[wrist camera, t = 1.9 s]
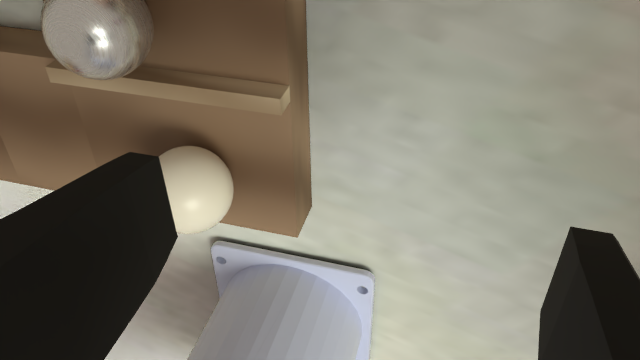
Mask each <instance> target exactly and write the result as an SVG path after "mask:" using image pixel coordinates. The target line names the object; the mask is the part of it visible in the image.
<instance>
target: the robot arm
mask: <svg viewBox="0 0 640 360" xmlns="http://www.w3.org/2000/svg"><path fill="white" fill-rule="evenodd" d="M177 237H178V236H177V232H176V228H175V223H174V219H173V215H172V210H171V206H170V202H169V198H168V193H167V189H166V185H165V181H164V176H163V172H162V168H161V164H160V159H159V157H158V156H152V155H146V154H141V153H135V152H128V153H126V154H124V155H122V156H120V157H117V158H115V159H113V160H111V161H109V162H107V163H105V164H104V165H102V166H100V167H98V168H96V169H94V170H92V171H90V172H88V173H87V174H85V175H83V176H81V177H79V178H77V179H76V180H74V181H72V182H70V183H68V184H66V185H65V186H63V187H61V188H59V189H57V190H55V191H53V192H52V193H50V194H48V195H46V196H44V197H42V198H40V199H39V200H37V201H35V202H33V203H31V204H29V205H27V206H26V207H24V208H22V209H20V210H18V211H16V212H14V213H12V214H10V215H8V216H6V217H4V218H2V219H0V360H104V359H105V358H106V356H107V355H108V353H109V352H110V350H111V349H112V347H113V346H114V344H115V343H116V341H117V340H118V338H119V337H120V335H121V334H122V332H123V331H124V329H125V328H126V326H127V325H128V323H129V322H130V321H131V319H132V318H133V316H134V315H135V313H136V312H137V310H138V308H139V307H140V305H141V304H142V302H143V301H144V299H145V298H146V296H147V295H148V293H149V292H150V290H151V289H152V287H153V286H154V284H155V282H156V281H157V279H158V277H159V275H160V273H161V271H162V269H163V267H164V265H165V263H166V261H167V259H168V257H169V254H170V252H171V250H172V248H173V246H174V244H175V241H176V239H177ZM211 255H212V260H213V265H214V271H215V276H216V281H217V287H218V292H219V297H220V300H219V302H218V303H217V305H216V307H215V309H214V311H213V313H212V315H211V316H210V318H209V320H208V322H207V324H206V326H205V327H204V329H203V331H202V333H201V335H200V337H199V338H198V340H197V342H196V344H195V346H194V348H193V349H192V351H191V353H190V355H189V357H188V359H187V360H370V348H371V334H372V319H373V305H374V290H375V276H374V275H373V274H372V273H371V272H369V271H367V270H364V269H359V268H354V267H349V266H344V265H339V264H334V263H329V262H324V261H319V260H314V259H309V258H304V257H300V256H295V255H290V254H285V253H280V252H275V251H270V250H265V249H260V248H255V247H250V246H245V245H240V244H235V243H230V242H225V241H216V242H214V244H213V245H212V247H211ZM222 257H223V258H222ZM361 286H363V287H365V288H363V287H361ZM538 360H640V278H639V277H638V275H637V273H636V272H635V270H634V268H633V267H632V265H631V263H630V261H629V260H628V258H627V256H626V254H625V253H624V251H623V249H622V247H621V246H620V244H619V242H618V241H617V239H616V238H615V236H614V235H613V234H611V233H605V232H599V231H593V230H587V229H581V228H575V227H570V230H569V232H568V235H567V238H566V241H565V244H564V246H563V249H562V252H561V255H560V258H559V261H558V263H557V266H556V269H555V272H554V275H553V277H552V280H551V283H550V286H549V289H548V292H547V294H546V297H545V300H544V303H543V306H542V308H541V313H540V330H539V351H538Z"/></svg>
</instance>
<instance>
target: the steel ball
mask: <svg viewBox="0 0 640 360" xmlns="http://www.w3.org/2000/svg"><path fill="white" fill-rule="evenodd" d="M41 28H42V34H43V37H44V40H45V43H46V45H47V47H48V49H49V50H50V52H51V53H52V55H53V56H54V57H55V58H56V59H57V61H58V62H59V63H61V64H62V65H63V66H64V67H65V68H67V69H68V70H70V71H71V72H73V73H75V74H77V75H80V76H82V77H85V78H89V79H94V80H111V79H116V78H120V77H122V76H125V75H127V74H129V73H130V72H132V71H133V70H135V69H136V68H137V67H138V66H139V65H140V64H141V63H142V62H143V61H144V60H145V58H146V56H147V55H148V53H149V51H150V48H151V45H152V41H153V33H154V30H153V21H152V17H151V13H150V11H149V8H148V6H147V4H146V2H145V1H144V0H45V2H44V5H43V8H42V13H41Z"/></svg>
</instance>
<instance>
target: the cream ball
mask: <svg viewBox="0 0 640 360" xmlns="http://www.w3.org/2000/svg"><path fill="white" fill-rule="evenodd" d="M159 159H160V164H161V168H162V172H163V176H164V181H165V185H166V189H167V193H168V198H169V202H170V206H171V210H172V215H173V219H174V223H175V228H176V232H177V233H182V234H195V233H200V232H203V231H206V230H208V229H210V228H212V227H213V226H215V225H216V224H217V223H219V222H220V221H221V220H222V219H223V217H224V216H225V215H226V214H227V212H228V210H229V208H230V206H231V203H232V199H233V192H234V187H233V180H232V177H231V174H230V171H229V169H228V168H227V166H226V165H225V163H224V162H223V161H222V160H221V159H220V158H219V157H218V156H217V155H215V154H214V153H213V152H211V151H209V150H207V149H204V148H201V147H196V146H181V147H176V148H173V149H171V150H168V151H166V152H165V153H163V154H162V155H160V156H159Z"/></svg>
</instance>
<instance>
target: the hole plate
mask: <svg viewBox="0 0 640 360" xmlns="http://www.w3.org/2000/svg"><path fill="white" fill-rule="evenodd" d="M43 1H44V2H45V0H43ZM144 1H145V2H146V4H147V6H148V8H149V11H150V13H151V17H152V21H153V30H154V33H153V41H152V45H151V48H150V51H149V53H148V55H147V56H146V58H145V60H144V61H143V62H142V63H141V64H140V65H139V66H138V67H137V68H136V69H135V70H133V71H132V72H130V73H129V74H127V75H125V76H122V77H120V78H116V79H111V80H94V79H89V78H85V77H82V76H80V75H77V74H75V73H73V72H71V71H70V70H68V69H67V68H65V67H64V66H63V65H62V64H61V63H59V62H58V61H57V59H56V58H55V57H54V56H53V55H52V53H51V52H50V50H49V49H48V47H47V45H46V43H45V40H44V37H43V34H42V31H37V30H29V29H21V28H12V27H4V26H0V180H4V181H9V182H14V183H19V184H24V185H30V186H35V187H40V188H45V189H50V190H57V189H59V188H61V187H63V186H65V185H66V184H68V183H70V182H72V181H74V180H76V179H77V178H79V177H81V176H83V175H85V174H87V173H88V172H90V171H92V170H94V169H96V168H98V167H100V166H102V165H104V164H105V163H107V162H109V161H111V160H113V159H115V158H117V157H120V156H122V155H124V154H126V153H128V152H135V153H141V154H146V155H152V156H158V157H159V156H160V155H162V154H163V153H165V152H166V151H168V150H171V149H173V148H176V147H181V146H196V147H201V148H204V149H207V150H209V151H211V152H213V153H214V154H215V155H217V156H218V157H219V158H220V159H221V160H222V161H223V162H224V163H225V165H226V166H227V168H228V169H229V171H230V174H231V177H232V180H233V187H234V192H233V199H232V203H231V206H230V208H229V210H228V212H227V214H226V215H225V216H224V217H223V219H222V220H221V221H220V223H225V224H230V225H235V226H240V227H246V228H251V229H256V230H261V231H266V232H271V233H276V234H282V235H287V236H292V237H298V235H299V233H300V231H301V229H302V227H303V224H304V222H305V220H306V218H307V216H308V213H309V211H310V209H311V207H312V197H311V164H310V130H309V97H308V64H307V30H306V0H144Z"/></svg>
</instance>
